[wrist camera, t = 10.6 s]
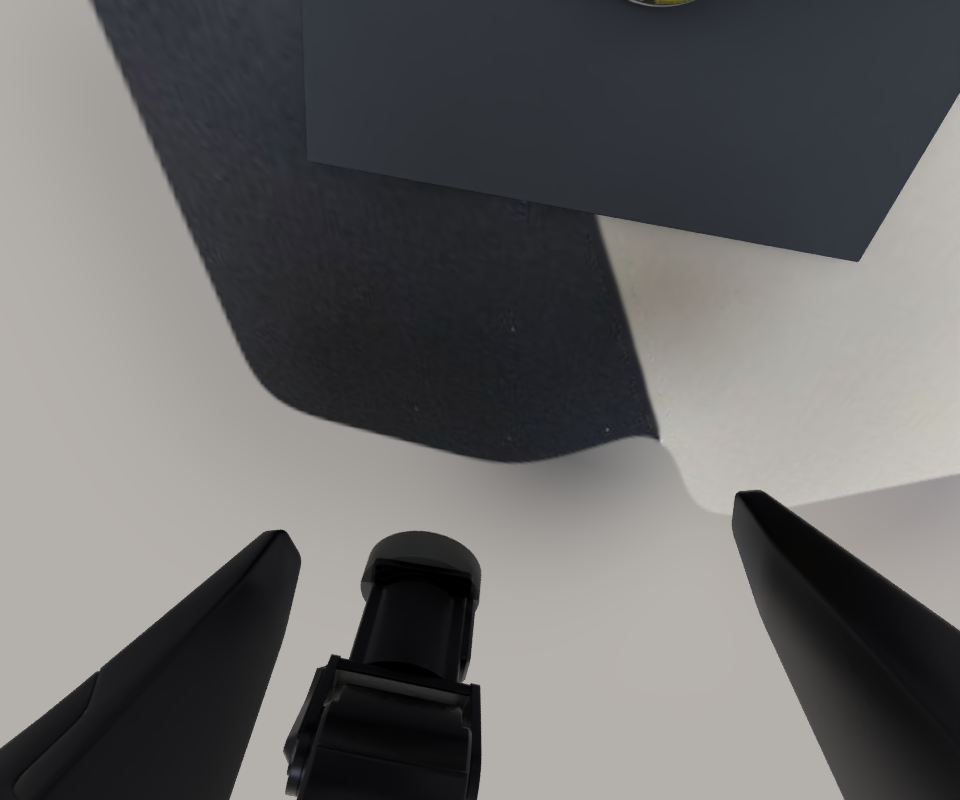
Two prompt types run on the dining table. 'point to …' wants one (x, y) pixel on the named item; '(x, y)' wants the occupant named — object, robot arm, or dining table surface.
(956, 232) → the dining table surface
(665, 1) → the pill bottle
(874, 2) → the left mat
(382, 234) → the dining table surface
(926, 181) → the dining table surface
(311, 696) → the robot arm
